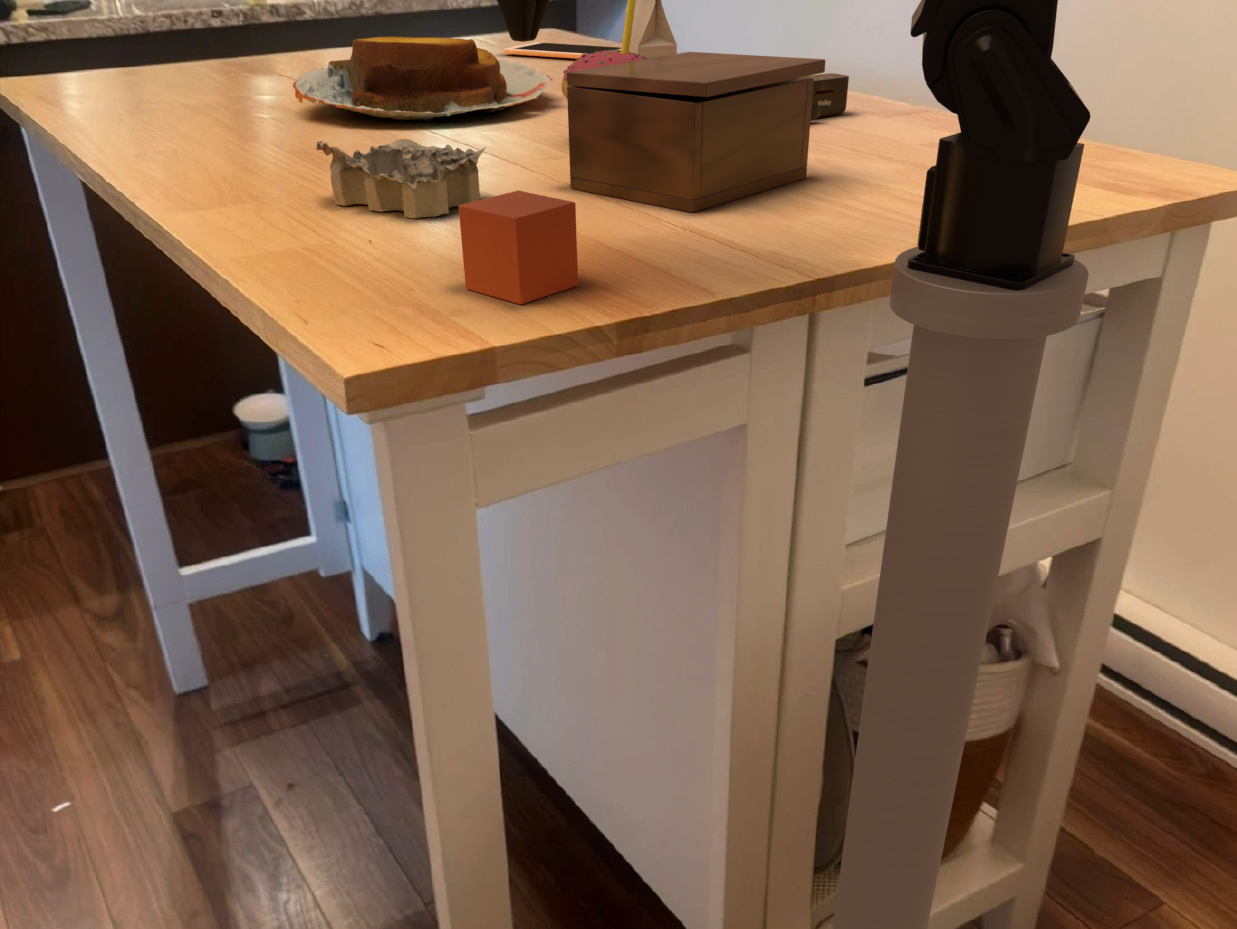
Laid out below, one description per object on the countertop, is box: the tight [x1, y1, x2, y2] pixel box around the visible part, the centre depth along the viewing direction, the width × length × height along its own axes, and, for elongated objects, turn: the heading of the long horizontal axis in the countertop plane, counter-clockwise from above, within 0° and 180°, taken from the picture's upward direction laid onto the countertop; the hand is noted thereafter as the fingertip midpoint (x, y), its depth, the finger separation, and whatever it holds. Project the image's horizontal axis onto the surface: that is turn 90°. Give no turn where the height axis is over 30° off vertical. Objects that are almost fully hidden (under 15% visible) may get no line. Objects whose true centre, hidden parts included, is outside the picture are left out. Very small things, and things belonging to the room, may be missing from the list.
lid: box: [567, 51, 826, 97], centre depth 81 cm, size 12×14×1 cm
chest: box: [566, 77, 814, 213], centre depth 83 cm, size 12×14×7 cm
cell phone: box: [503, 41, 622, 60], centre depth 145 cm, size 8×16×1 cm, turn 59°
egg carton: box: [316, 138, 487, 219], centre depth 80 cm, size 11×8×4 cm
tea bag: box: [621, 0, 678, 59], centre depth 108 cm, size 4×7×10 cm, turn 12°
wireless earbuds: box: [805, 72, 850, 121], centre depth 106 cm, size 5×7×3 cm, turn 123°
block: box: [458, 190, 579, 305], centre depth 63 cm, size 4×4×4 cm
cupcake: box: [561, 0, 647, 99], centre depth 95 cm, size 9×8×12 cm
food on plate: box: [292, 36, 555, 122], centre depth 113 cm, size 25×25×7 cm
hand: (523, 40), depth 59 cm, fingers closed
